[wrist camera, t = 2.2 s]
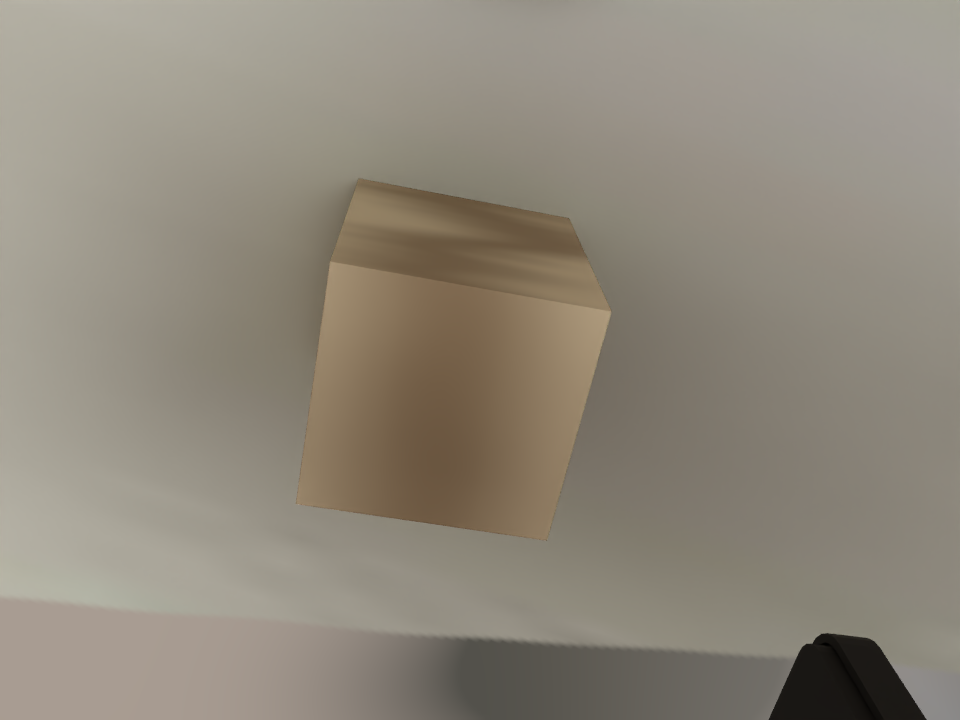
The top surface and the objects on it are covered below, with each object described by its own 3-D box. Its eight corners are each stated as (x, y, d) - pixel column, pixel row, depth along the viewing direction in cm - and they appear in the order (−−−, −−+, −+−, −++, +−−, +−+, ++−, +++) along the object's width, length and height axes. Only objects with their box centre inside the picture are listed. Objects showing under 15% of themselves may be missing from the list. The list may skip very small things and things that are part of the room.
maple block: (568, 218, 22) (611, 311, 16) (522, 401, 24) (546, 540, 18) (358, 178, 21) (330, 261, 15) (330, 370, 23) (295, 503, 18)
